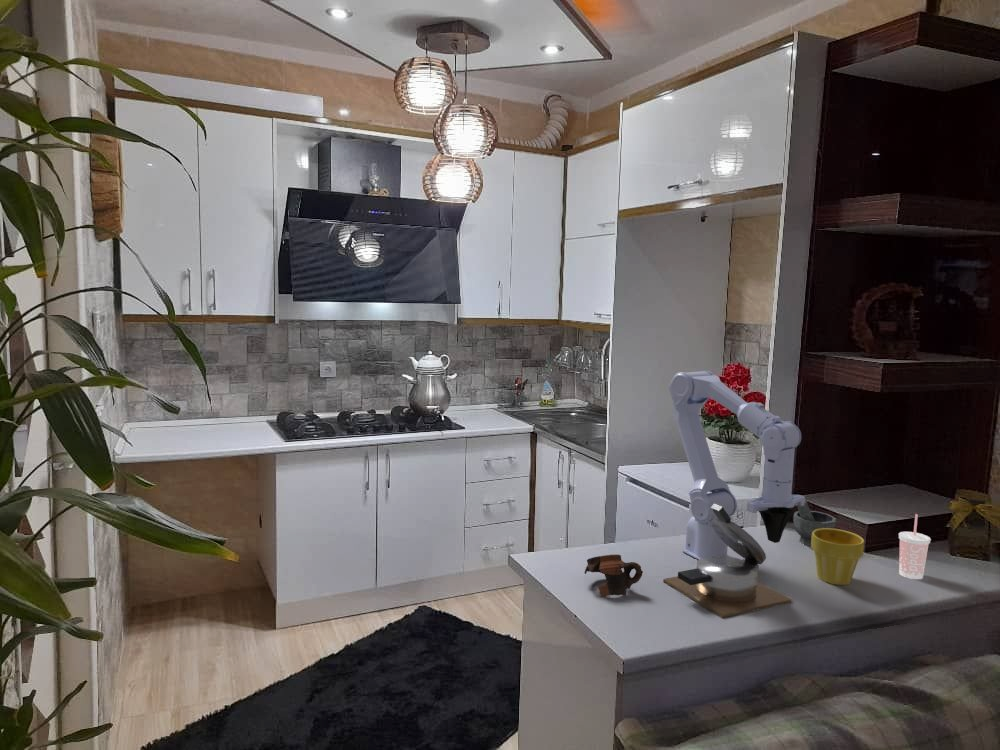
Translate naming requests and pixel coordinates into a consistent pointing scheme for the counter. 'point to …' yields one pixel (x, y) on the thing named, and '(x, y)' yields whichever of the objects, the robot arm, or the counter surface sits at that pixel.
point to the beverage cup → (913, 553)
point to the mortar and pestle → (810, 522)
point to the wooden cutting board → (726, 586)
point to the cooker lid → (736, 537)
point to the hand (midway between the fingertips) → (773, 541)
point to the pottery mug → (614, 573)
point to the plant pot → (836, 554)
